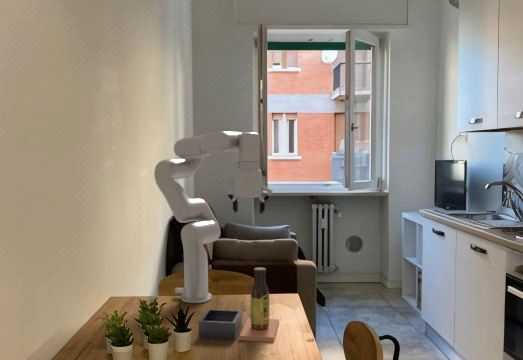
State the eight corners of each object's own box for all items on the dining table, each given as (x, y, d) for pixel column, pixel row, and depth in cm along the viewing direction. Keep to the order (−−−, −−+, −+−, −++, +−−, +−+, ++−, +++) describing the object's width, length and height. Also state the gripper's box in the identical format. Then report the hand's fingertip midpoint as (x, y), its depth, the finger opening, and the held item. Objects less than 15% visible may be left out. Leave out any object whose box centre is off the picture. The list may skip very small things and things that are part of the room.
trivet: (239, 340, 153) (239, 335, 153) (248, 322, 169) (248, 318, 169) (273, 342, 152) (273, 337, 152) (279, 323, 168) (279, 319, 167)
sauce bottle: (267, 331, 157) (267, 271, 155) (248, 329, 158) (248, 270, 156) (270, 324, 163) (270, 266, 162) (253, 322, 164) (252, 265, 163)
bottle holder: (198, 337, 155) (198, 321, 155) (208, 324, 167) (208, 309, 167) (235, 339, 154) (234, 323, 153) (241, 326, 165) (241, 310, 165)
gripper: (223, 166, 173) (223, 213, 174) (271, 167, 170) (270, 214, 171) (228, 165, 180) (228, 210, 182) (273, 166, 177) (273, 211, 179)
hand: (248, 212), depth 176 cm, fingers open, 9 cm apart
